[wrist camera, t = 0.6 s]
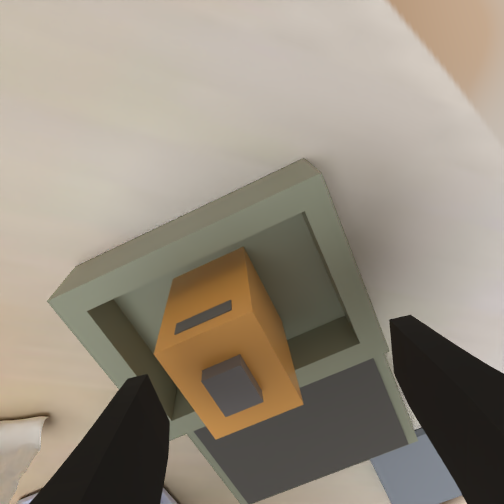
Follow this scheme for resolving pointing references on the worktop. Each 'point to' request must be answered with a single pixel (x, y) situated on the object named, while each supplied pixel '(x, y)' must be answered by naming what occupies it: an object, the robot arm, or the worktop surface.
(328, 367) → the grey-green tray
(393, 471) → the mat
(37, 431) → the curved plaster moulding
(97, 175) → the worktop surface
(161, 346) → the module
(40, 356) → the worktop surface
